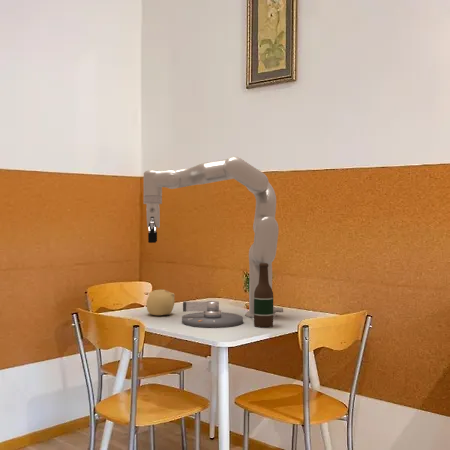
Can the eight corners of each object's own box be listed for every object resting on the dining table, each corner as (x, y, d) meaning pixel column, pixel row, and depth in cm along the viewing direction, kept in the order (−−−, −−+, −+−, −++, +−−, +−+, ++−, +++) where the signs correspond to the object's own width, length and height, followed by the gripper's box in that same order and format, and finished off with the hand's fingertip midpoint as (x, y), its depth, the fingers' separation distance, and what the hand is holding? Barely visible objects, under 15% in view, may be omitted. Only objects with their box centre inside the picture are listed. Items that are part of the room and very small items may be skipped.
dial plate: (239, 316, 257) (239, 311, 257) (246, 327, 233) (246, 321, 233) (181, 317, 255) (181, 311, 255) (182, 328, 231) (182, 322, 231)
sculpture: (177, 313, 265) (177, 287, 265) (169, 317, 253) (169, 291, 253) (151, 312, 267) (151, 287, 267) (142, 316, 255) (142, 290, 255)
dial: (220, 314, 247) (220, 300, 247) (222, 317, 240) (222, 303, 240) (182, 315, 246) (182, 300, 246) (183, 318, 239) (183, 303, 239)
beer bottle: (258, 328, 231) (259, 264, 231) (249, 324, 238) (250, 262, 238) (277, 326, 234) (277, 263, 234) (267, 323, 241) (268, 262, 241)
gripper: (161, 200, 246) (161, 243, 247) (162, 200, 264) (162, 241, 264) (142, 200, 246) (142, 243, 246) (144, 200, 263) (144, 241, 263)
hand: (152, 242), depth 255 cm, fingers open, 9 cm apart
